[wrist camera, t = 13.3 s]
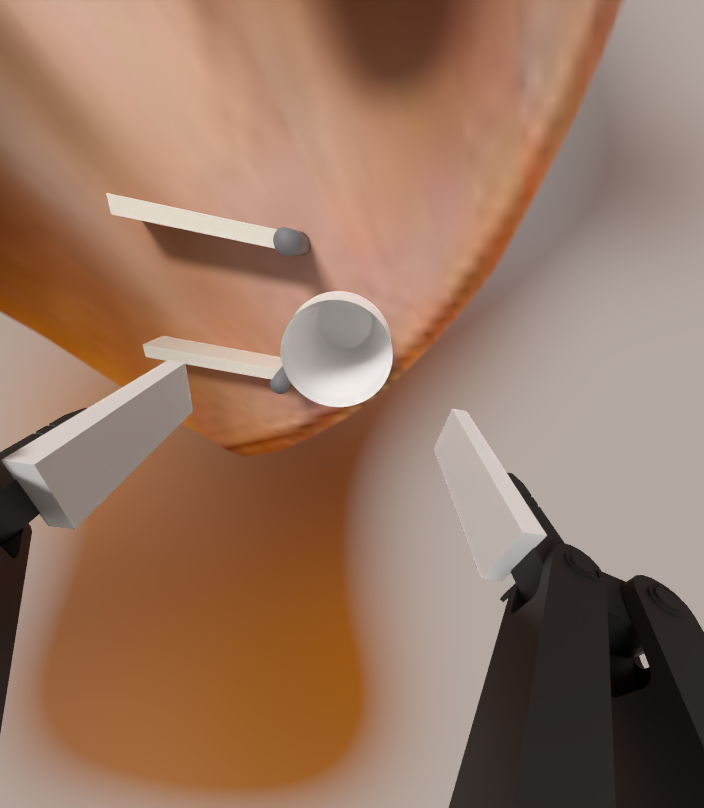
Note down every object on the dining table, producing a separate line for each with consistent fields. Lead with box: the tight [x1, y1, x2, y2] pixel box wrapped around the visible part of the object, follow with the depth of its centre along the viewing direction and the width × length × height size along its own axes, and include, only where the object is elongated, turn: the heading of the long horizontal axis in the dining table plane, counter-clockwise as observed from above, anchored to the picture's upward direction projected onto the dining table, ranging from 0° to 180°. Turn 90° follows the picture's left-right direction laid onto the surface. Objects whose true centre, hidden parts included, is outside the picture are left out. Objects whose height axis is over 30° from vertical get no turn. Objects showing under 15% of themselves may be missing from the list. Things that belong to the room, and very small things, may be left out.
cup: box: [281, 291, 393, 407], centre depth 25 cm, size 9×9×12 cm
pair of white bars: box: [106, 193, 310, 394], centre depth 27 cm, size 17×16×6 cm
